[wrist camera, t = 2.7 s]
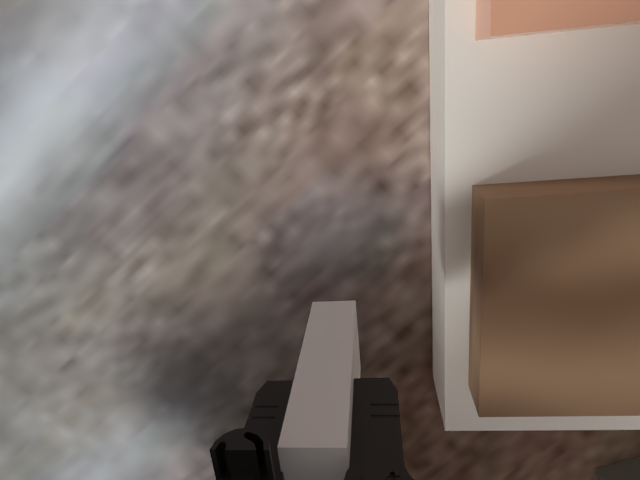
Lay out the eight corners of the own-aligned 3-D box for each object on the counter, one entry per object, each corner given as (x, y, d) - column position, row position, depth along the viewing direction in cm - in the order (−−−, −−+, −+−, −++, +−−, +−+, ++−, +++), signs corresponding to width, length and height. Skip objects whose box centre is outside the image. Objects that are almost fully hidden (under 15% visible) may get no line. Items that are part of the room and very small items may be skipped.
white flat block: (736, 371, 23) (808, 428, 19) (432, 377, 25) (444, 430, 21) (931, -413, 14) (1142, -593, 10) (425, -315, 16) (444, -438, 12)
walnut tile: (638, 382, 19) (668, 415, 18) (468, 385, 20) (478, 417, 18) (674, 171, 16) (714, 184, 15) (472, 185, 17) (485, 199, 15)
